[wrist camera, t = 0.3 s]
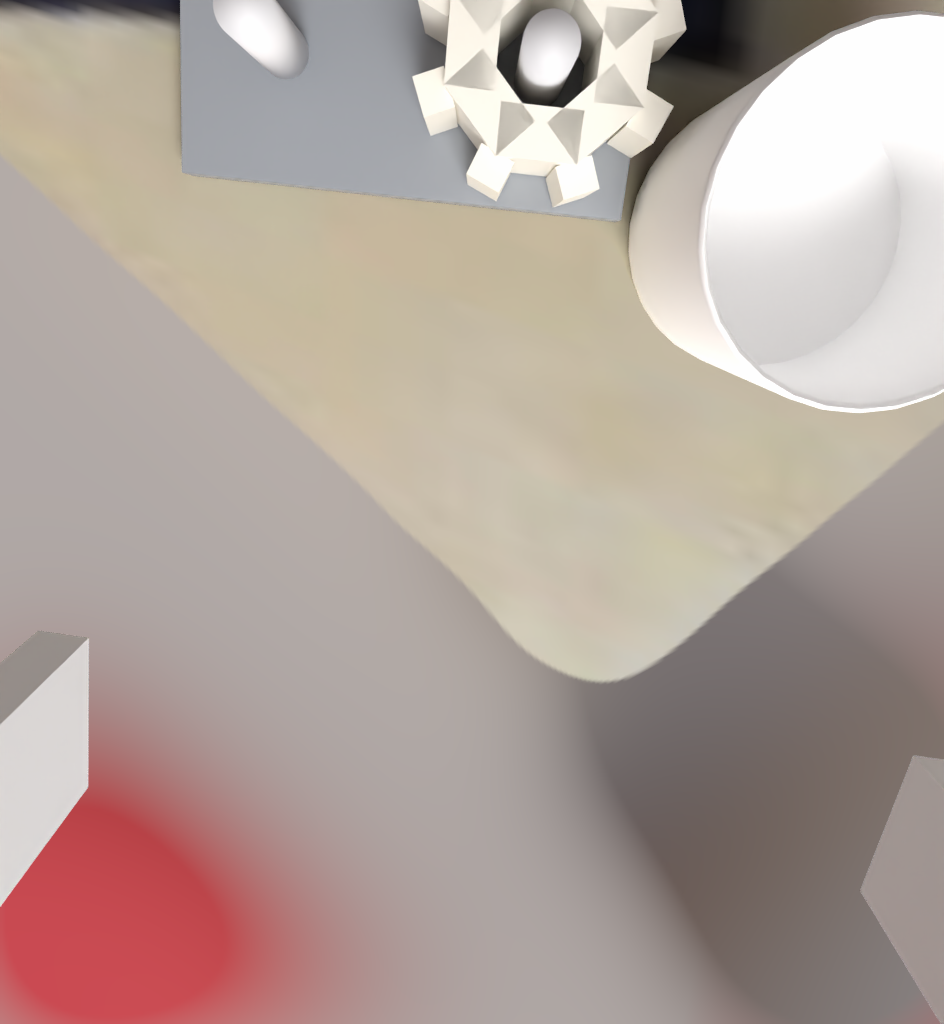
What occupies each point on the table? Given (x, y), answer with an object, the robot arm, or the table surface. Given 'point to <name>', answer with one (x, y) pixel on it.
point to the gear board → (360, 102)
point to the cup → (810, 223)
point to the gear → (543, 129)
